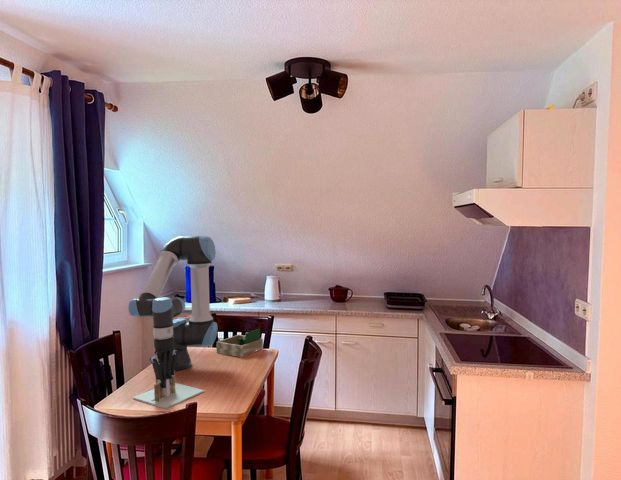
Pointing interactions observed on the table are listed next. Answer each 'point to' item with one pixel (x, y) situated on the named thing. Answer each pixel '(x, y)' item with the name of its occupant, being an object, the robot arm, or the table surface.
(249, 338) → the pixelated creature
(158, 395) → the fence gate
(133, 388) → the table surface
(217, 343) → the box
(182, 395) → the card
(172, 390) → the fence fixed
